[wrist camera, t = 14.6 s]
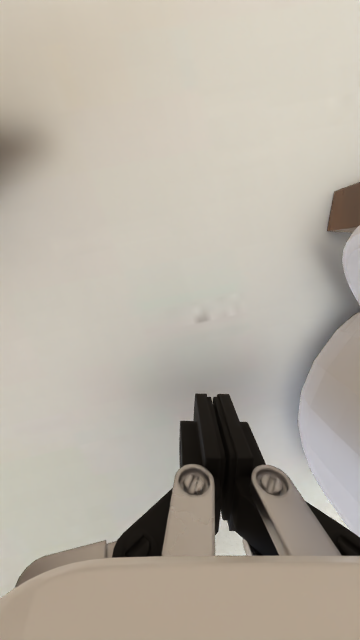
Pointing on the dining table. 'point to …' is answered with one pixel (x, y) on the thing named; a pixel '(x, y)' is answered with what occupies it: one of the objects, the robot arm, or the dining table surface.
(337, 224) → the corner stop
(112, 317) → the dining table surface
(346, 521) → the mug
